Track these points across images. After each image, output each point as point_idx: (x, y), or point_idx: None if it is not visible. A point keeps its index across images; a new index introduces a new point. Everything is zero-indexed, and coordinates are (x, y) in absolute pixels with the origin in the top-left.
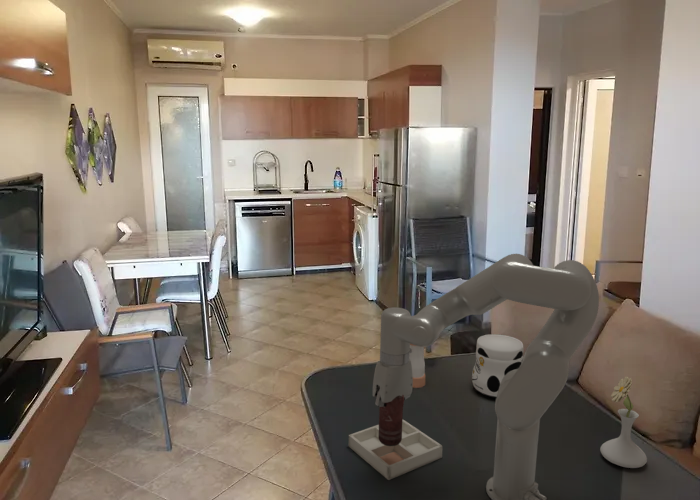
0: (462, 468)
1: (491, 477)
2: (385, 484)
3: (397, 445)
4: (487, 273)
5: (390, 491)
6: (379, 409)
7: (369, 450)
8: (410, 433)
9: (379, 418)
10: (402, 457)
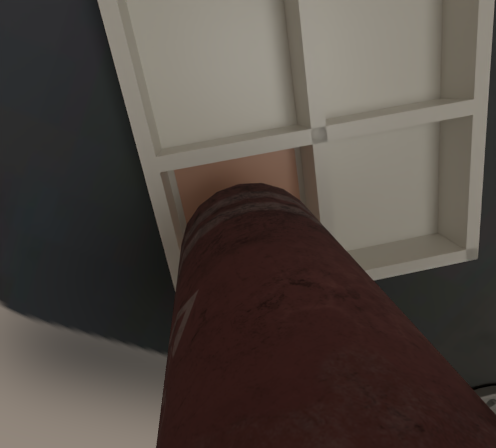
0: (454, 312)
1: (483, 398)
2: (164, 305)
3: (312, 167)
4: None
5: (165, 341)
6: (171, 364)
7: (152, 169)
8: (449, 46)
9: (174, 316)
10: (304, 195)
